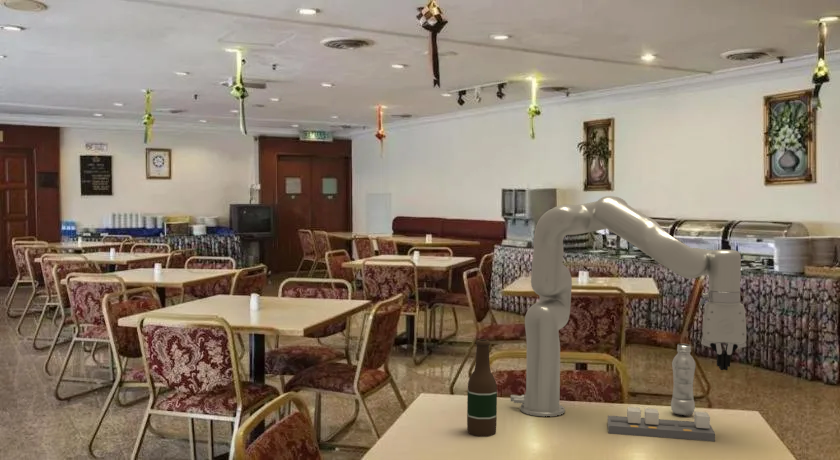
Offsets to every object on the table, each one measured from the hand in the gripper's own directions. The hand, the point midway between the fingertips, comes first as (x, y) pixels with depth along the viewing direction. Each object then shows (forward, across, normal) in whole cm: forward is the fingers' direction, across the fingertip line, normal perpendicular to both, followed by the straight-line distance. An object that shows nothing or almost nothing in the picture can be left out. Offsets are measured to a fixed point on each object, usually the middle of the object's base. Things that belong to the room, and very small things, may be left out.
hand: (723, 369), depth 190 cm
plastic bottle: (+18, -8, +19) cm, 27 cm away
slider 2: (+15, -18, 0) cm, 23 cm away
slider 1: (+15, -22, 0) cm, 27 cm away
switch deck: (+17, -16, 0) cm, 23 cm away
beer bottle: (+17, -60, -13) cm, 64 cm away
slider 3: (+15, -5, 0) cm, 16 cm away
